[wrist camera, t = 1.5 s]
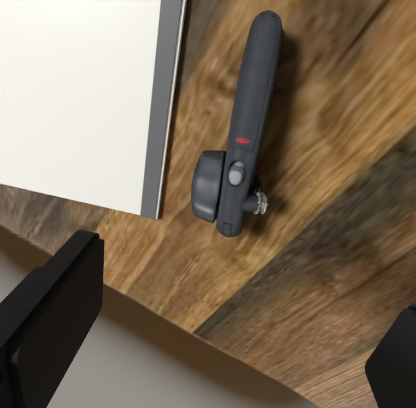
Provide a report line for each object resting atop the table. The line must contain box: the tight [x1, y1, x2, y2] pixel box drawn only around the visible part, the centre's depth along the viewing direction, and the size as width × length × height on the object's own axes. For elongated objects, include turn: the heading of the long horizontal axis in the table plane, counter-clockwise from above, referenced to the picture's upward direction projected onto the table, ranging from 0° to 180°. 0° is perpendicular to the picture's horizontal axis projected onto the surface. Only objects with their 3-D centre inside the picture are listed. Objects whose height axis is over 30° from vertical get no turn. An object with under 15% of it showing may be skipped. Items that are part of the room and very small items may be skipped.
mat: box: [0, 0, 187, 219], centre depth 26 cm, size 22×20×1 cm
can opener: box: [191, 10, 282, 237], centre depth 24 cm, size 18×7×6 cm, turn 169°
